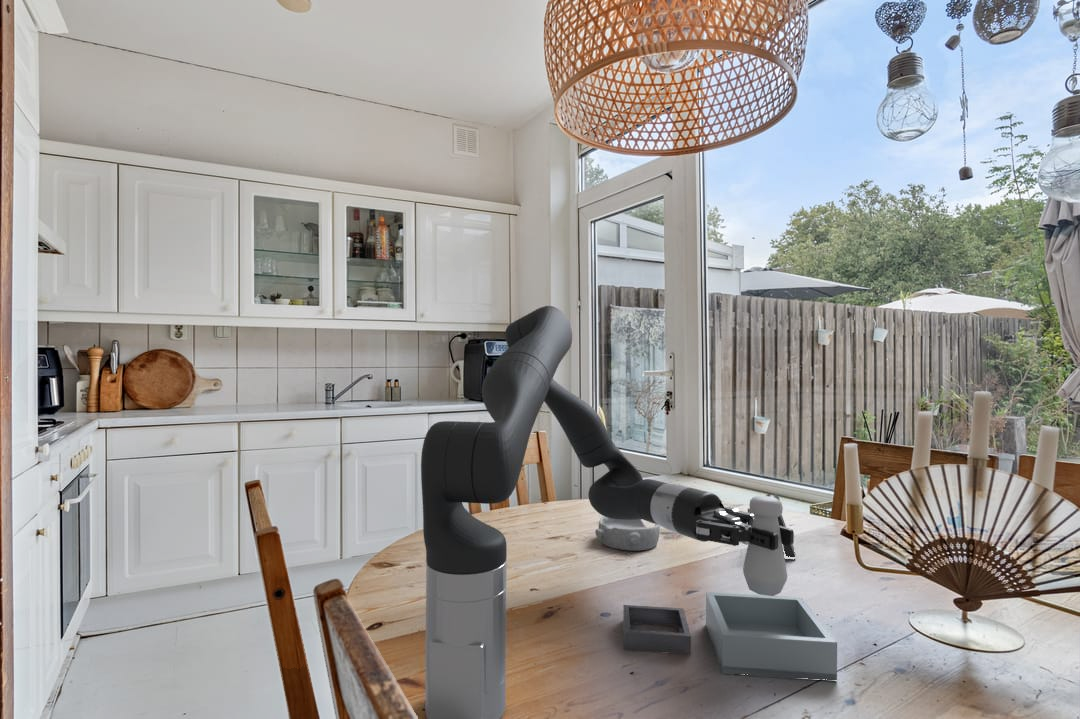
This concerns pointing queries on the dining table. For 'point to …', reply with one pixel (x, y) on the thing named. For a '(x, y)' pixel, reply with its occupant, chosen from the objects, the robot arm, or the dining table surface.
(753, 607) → the bin
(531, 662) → the dining table surface
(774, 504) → the salt shaker
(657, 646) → the dark grey square tray
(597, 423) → the robot arm
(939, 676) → the dining table surface
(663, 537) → the dining table surface
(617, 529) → the dish
